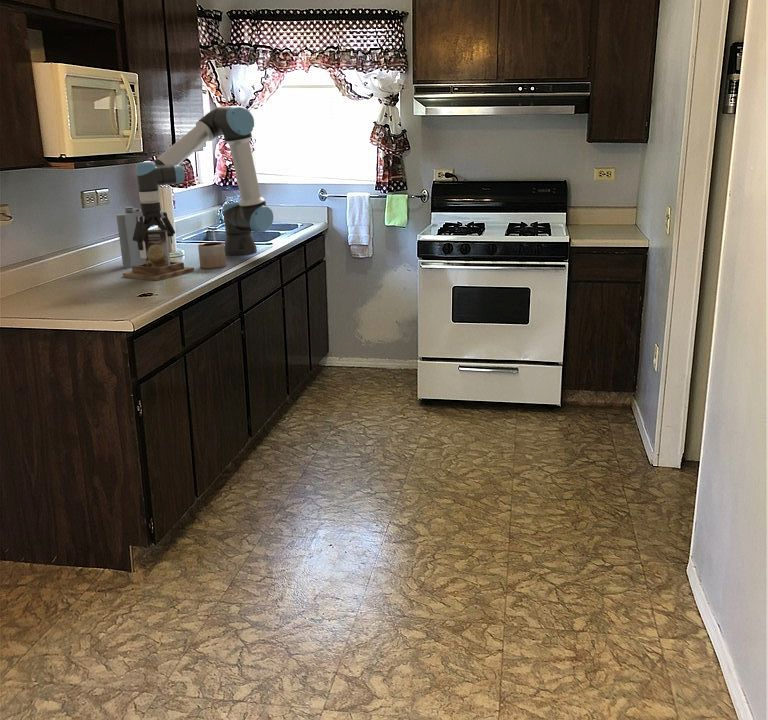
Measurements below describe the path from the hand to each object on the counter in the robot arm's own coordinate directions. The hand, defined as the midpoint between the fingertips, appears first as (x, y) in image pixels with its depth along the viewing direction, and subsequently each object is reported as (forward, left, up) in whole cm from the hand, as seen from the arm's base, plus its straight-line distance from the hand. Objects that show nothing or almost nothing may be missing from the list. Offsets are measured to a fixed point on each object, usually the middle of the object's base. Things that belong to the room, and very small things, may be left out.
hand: (156, 255), depth 325 cm
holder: (0, 0, -8) cm, 8 cm away
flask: (-12, -27, -8) cm, 31 cm away
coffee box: (0, 0, -6) cm, 6 cm away
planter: (-21, +10, -8) cm, 24 cm away
